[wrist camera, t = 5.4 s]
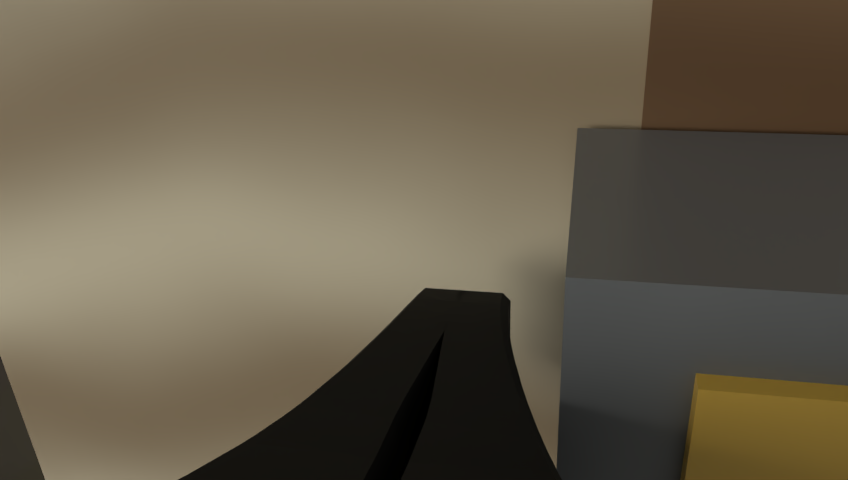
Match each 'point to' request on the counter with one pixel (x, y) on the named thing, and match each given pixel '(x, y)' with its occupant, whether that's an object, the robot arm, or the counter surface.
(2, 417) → the counter surface
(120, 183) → the wooden cutting board
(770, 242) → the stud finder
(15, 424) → the counter surface
